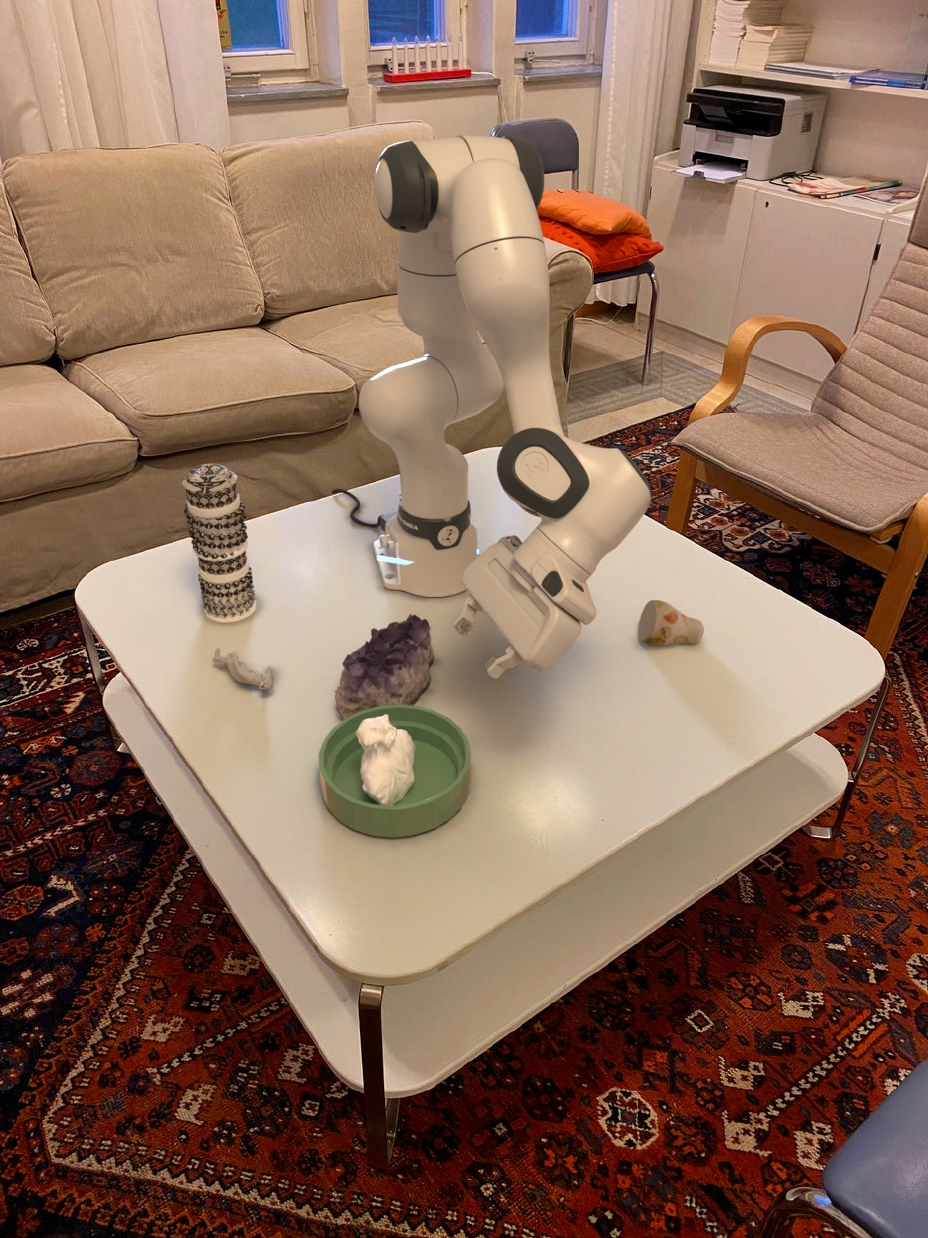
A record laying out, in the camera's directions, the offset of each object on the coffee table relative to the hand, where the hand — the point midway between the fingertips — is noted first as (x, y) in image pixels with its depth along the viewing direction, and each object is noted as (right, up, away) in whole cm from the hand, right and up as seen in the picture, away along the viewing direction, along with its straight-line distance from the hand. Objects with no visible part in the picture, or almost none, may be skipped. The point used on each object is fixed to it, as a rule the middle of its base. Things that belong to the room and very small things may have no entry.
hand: (473, 651), depth 118 cm
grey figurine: (-34, -5, +24) cm, 42 cm away
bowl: (-10, -18, +6) cm, 21 cm away
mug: (+31, +1, +33) cm, 46 cm away
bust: (-11, -18, +6) cm, 22 cm away
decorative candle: (-40, +6, +39) cm, 56 cm away
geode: (-12, -6, +23) cm, 26 cm away
